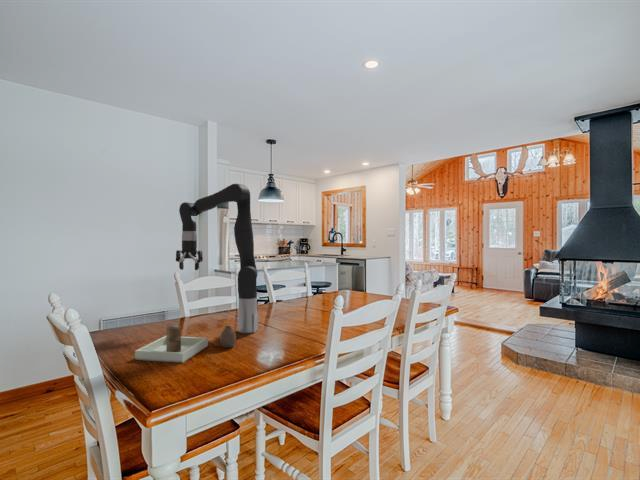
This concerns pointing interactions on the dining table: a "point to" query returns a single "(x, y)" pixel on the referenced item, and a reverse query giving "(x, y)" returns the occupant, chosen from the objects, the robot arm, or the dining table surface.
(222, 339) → the grey rounded egg shape
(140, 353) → the sage tray
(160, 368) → the dining table surface
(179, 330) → the walnut block
